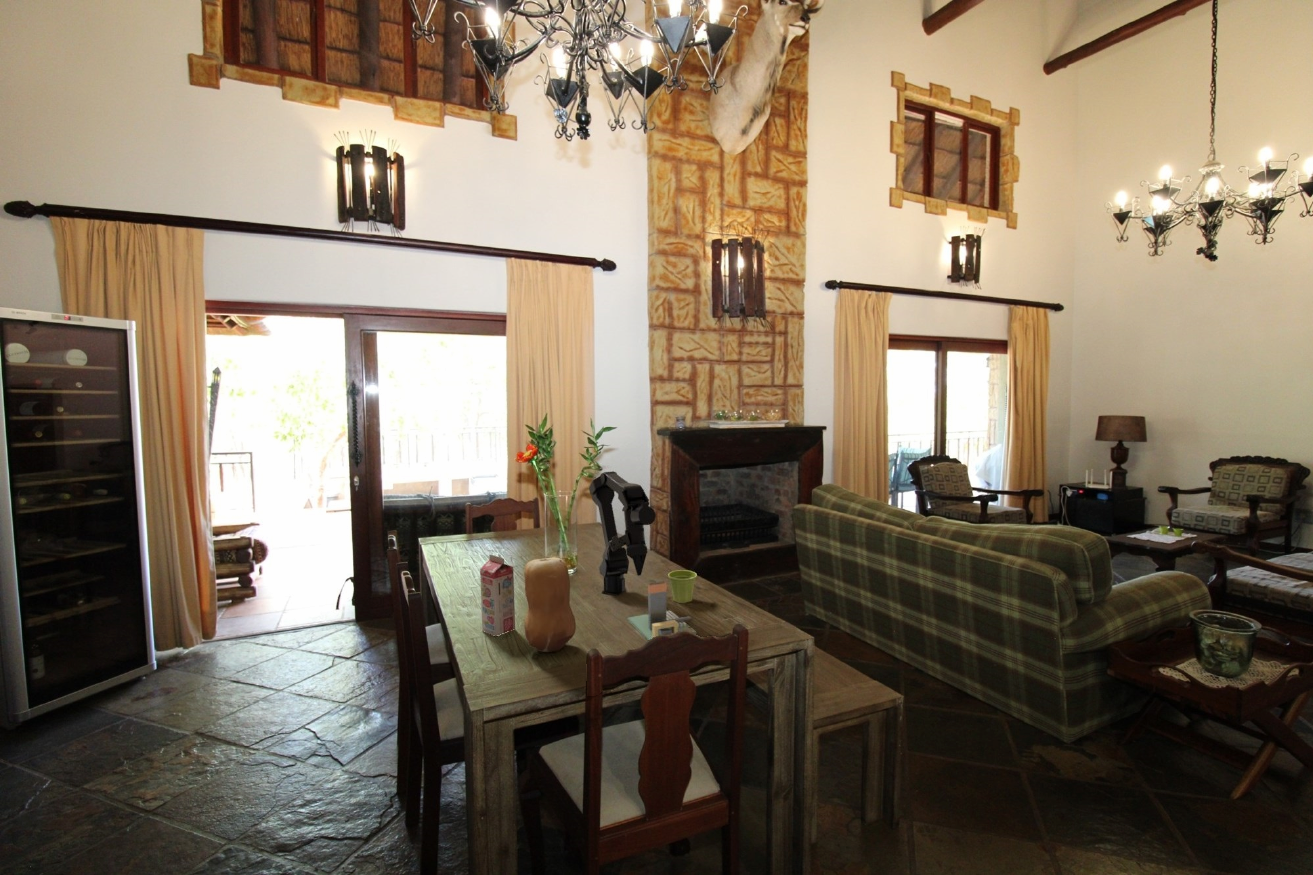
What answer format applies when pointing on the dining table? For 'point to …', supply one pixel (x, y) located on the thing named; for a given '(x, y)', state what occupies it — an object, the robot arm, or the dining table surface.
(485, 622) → the juice carton
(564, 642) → the butternut squash
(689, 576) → the plant pot
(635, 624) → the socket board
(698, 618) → the dining table surface
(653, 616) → the orange-rimmed grey tower
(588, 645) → the dining table surface
